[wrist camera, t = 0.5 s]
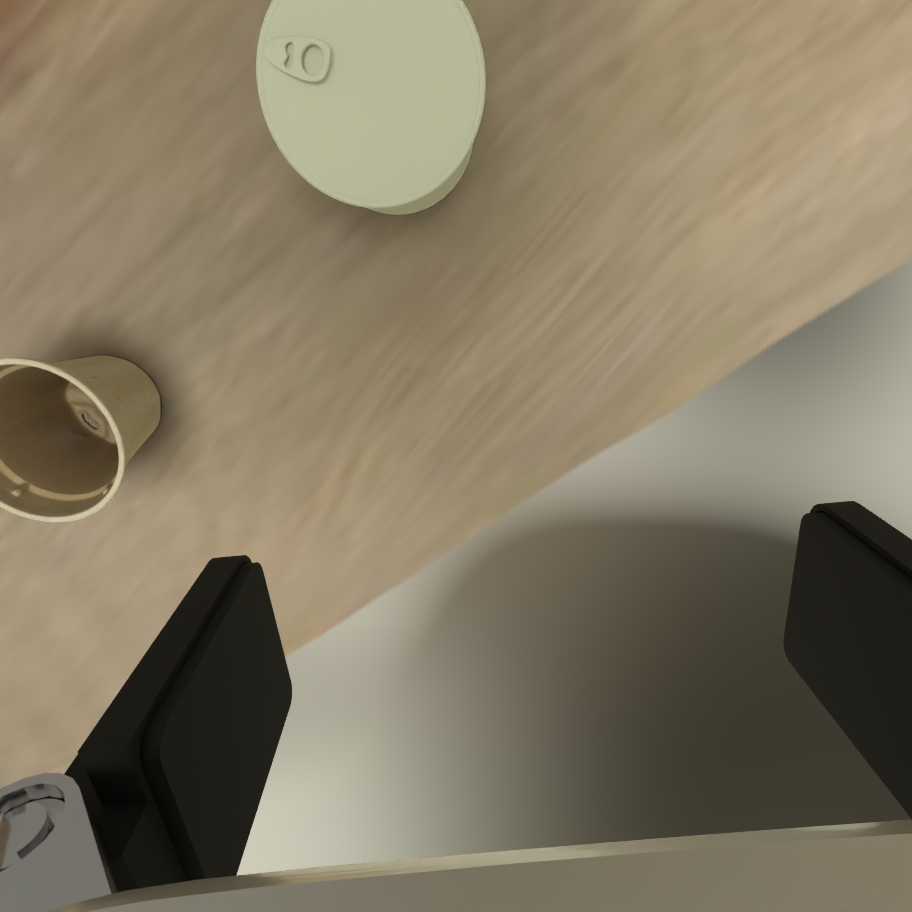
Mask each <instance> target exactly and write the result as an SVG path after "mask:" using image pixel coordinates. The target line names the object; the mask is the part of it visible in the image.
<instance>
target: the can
mask: <svg viewBox="0 0 912 912" xmlns="http://www.w3.org/2000/svg"><path fill="white" fill-rule="evenodd" d="M256 78H257V88H258V94H259V100H260V104H261V108H262V111H263V115H264V118H265V120H266V123H267V126H268V128H269V131H270V133H271V135H272V137H273V139H274V141H275V142H276V144H277V146H278V148H279V149H280V151H281V152H282V154H283V155H284V157H285V158H286V159H287V161H288V162H289V163H290V164H291V166H292V167H293V168H294V169H295V170H296V171H297V172H298V173H299V174H300V175H301V176H302V177H303V178H304V179H305V180H306V181H307V182H309V183H310V184H311V185H312V186H314V187H315V188H317V189H318V190H320V191H321V192H323V193H324V194H326V195H328V196H330V197H332V198H334V199H336V200H339V201H341V202H344V203H347V204H350V205H354V206H358V207H366V208H368V209H371V210H373V211H377V212H380V213H385V214H393V215H402V214H410V213H415V212H418V211H421V210H424V209H426V208H429V207H431V206H432V205H434V204H436V203H437V202H438V201H440V200H441V199H443V198H444V197H445V196H446V195H447V194H448V193H449V192H450V191H451V190H452V189H453V188H454V187H455V185H456V184H457V183H458V181H459V180H460V178H461V176H462V175H463V173H464V171H465V169H466V167H467V164H468V162H469V159H470V156H471V152H472V148H473V142H474V139H475V137H476V134H477V132H478V129H479V125H480V122H481V118H482V113H483V109H484V102H485V92H486V71H485V62H484V56H483V50H482V46H481V42H480V38H479V35H478V32H477V29H476V26H475V24H474V22H473V19H472V17H471V15H470V13H469V11H468V9H467V7H466V5H465V4H464V2H463V0H272V1H271V3H270V6H269V8H268V10H267V12H266V15H265V18H264V21H263V24H262V27H261V31H260V36H259V40H258V46H257V57H256Z"/></svg>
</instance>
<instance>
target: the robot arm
mask: <svg viewBox="0 0 912 912" xmlns="http://www.w3.org/2000/svg"><path fill="white" fill-rule="evenodd" d="M784 650H785V653H786V656H787V658H788V660H789V662H790V663H791V665H792V666H793V667H794V668H795V670H796V671H797V672H798V674H799V675H800V676H801V678H802V679H803V680H804V681H805V683H806V684H807V685H808V687H809V688H810V689H811V690H812V692H813V693H814V694H815V696H816V697H817V698H818V699H819V701H820V702H821V703H822V704H823V706H824V707H825V708H826V710H827V711H828V712H829V713H830V715H831V716H832V717H833V719H834V720H835V721H836V722H837V724H838V725H839V726H840V728H841V729H842V730H843V731H844V733H845V734H846V735H847V737H848V738H849V739H850V740H851V741H852V743H853V744H854V746H855V747H856V748H857V749H858V751H859V752H860V753H861V755H862V756H863V757H864V758H865V760H866V761H867V762H868V764H869V765H870V766H871V767H872V769H873V770H874V771H875V773H876V774H877V775H878V776H879V777H880V779H881V780H882V781H883V783H884V784H885V785H886V787H887V788H888V789H889V790H890V791H891V793H892V794H893V796H894V797H895V798H896V799H897V801H898V802H899V803H900V805H901V806H902V807H903V808H904V810H905V811H906V812H907V814H908V815H909V816H910V817H911V819H912V540H911V539H910V538H908V537H907V536H905V535H904V534H903V533H901V532H900V531H898V530H897V529H895V528H894V527H892V526H891V525H889V524H888V523H886V522H885V521H884V520H882V519H881V518H879V517H878V516H876V515H875V514H873V513H872V512H870V511H869V510H868V509H866V508H865V507H863V506H862V505H860V504H858V503H856V502H854V501H847V502H836V503H824V504H817V505H815V506H814V507H813V508H812V509H811V511H810V513H807V514H805V515H804V516H803V518H802V520H801V524H800V531H799V539H798V545H797V552H796V559H795V566H794V572H793V579H792V586H791V593H790V599H789V606H788V613H787V620H786V627H785V633H784ZM291 699H292V685H291V680H290V676H289V672H288V668H287V664H286V660H285V656H284V652H283V648H282V644H281V640H280V636H279V632H278V628H277V624H276V620H275V616H274V612H273V608H272V604H271V600H270V597H269V593H268V589H267V585H266V581H265V577H264V573H263V569H262V567H261V565H260V564H259V563H258V562H257V563H252V562H251V560H250V558H249V557H248V556H246V555H242V556H231V557H220V558H213V559H211V560H210V561H209V562H208V564H207V565H206V567H205V568H204V570H203V571H202V572H201V574H200V575H199V577H198V578H197V580H196V581H195V583H194V584H193V585H192V587H191V588H190V590H189V591H188V593H187V594H186V596H185V597H184V599H183V600H182V601H181V603H180V604H179V606H178V607H177V609H176V610H175V612H174V613H173V614H172V616H171V617H170V619H169V620H168V622H167V623H166V625H165V626H164V628H163V629H162V630H161V632H160V633H159V635H158V636H157V638H156V639H155V641H154V642H153V643H152V645H151V646H150V648H149V649H148V651H147V652H146V654H145V655H144V656H143V658H142V659H141V661H140V662H139V664H138V665H137V667H136V668H135V670H134V671H133V672H132V674H131V675H130V677H129V678H128V680H127V681H126V683H125V684H124V685H123V687H122V688H121V690H120V691H119V693H118V694H117V696H116V697H115V699H114V700H113V701H112V703H111V704H110V706H109V707H108V709H107V710H106V712H105V713H104V714H103V716H102V717H101V719H100V720H99V722H98V723H97V725H96V726H95V728H94V729H93V730H92V732H91V733H90V735H89V736H88V738H87V739H86V741H85V742H84V743H83V745H82V746H81V748H80V749H79V751H78V755H77V756H76V758H75V759H74V761H73V762H72V764H71V765H70V767H69V768H68V769H67V771H66V772H65V774H61V773H43V774H39V775H35V776H31V777H27V778H23V779H21V780H19V781H16V782H14V783H12V784H10V785H7V786H5V787H3V788H1V789H0V912H912V820H899V821H886V822H872V823H858V824H845V825H831V826H818V827H805V828H790V829H777V830H764V831H750V832H738V833H725V834H712V835H700V836H687V837H676V838H661V839H649V840H637V841H624V842H611V843H600V844H586V845H574V846H563V847H549V848H538V849H525V850H513V851H501V852H489V853H477V854H467V855H454V856H443V857H431V858H419V859H408V860H396V861H384V862H372V863H361V864H349V865H338V866H326V867H316V868H306V869H297V870H287V871H277V872H268V873H258V874H248V875H238V876H236V875H237V871H238V868H239V865H240V862H241V859H242V856H243V852H244V849H245V846H246V843H247V840H248V836H249V834H250V830H251V827H252V824H253V821H254V818H255V815H256V812H257V809H258V805H259V802H260V799H261V796H262V793H263V790H264V786H265V783H266V780H267V777H268V774H269V771H270V768H271V765H272V761H273V758H274V755H275V752H276V749H277V746H278V743H279V739H280V736H281V733H282V730H283V727H284V723H285V720H286V717H287V714H288V711H289V708H290V704H291Z"/></svg>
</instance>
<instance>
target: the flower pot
mask: <svg viewBox="0 0 912 912" xmlns="http://www.w3.org/2000/svg"><path fill="white" fill-rule="evenodd" d="M160 412H161V411H160V395H159V393H158V390H157V389H156V387H155V385H154V383H153V382H152V380H151V379H150V378H149V376H148V375H147V374H146V373H145V372H144V371H143V370H141V369H140V368H139V367H137V366H136V365H135V364H133V363H131V362H129V361H127V360H124V359H121V358H117V357H112V356H102V355H99V356H93V357H87V358H80V359H73V360H67V361H60V362H53V363H47V362H42V361H38V360H34V359H27V358H3V359H0V507H1V508H3V509H6V510H7V511H9V512H12V513H14V514H16V515H19V516H23V517H25V518H29V519H33V520H38V521H45V522H68V521H75V520H78V519H81V518H84V517H87V516H89V515H91V514H93V513H95V512H97V511H98V510H100V509H101V508H102V507H104V506H105V505H106V504H107V503H108V502H109V501H110V500H111V499H112V498H113V497H114V496H115V494H116V493H117V491H118V489H119V488H120V486H121V484H122V481H123V478H124V475H125V470H126V465H127V463H128V462H129V460H130V459H131V458H132V457H133V455H134V454H135V453H136V452H137V451H138V449H139V448H140V447H141V446H142V444H143V443H144V442H145V441H146V440H147V439H148V437H149V436H150V435H151V434H152V433H153V432H154V430H155V429H156V428H157V426H158V424H159V421H160ZM82 414H85V415H86V416H87V417H88V418H89V419H90V420H91V421H92V423H93V424H95V425H96V426H97V427H98V428H97V429H95V428H93V427H91V426H90V425H89V424H88V423H87V422H86V421H85V420H84V418H83V415H82Z"/></svg>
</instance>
